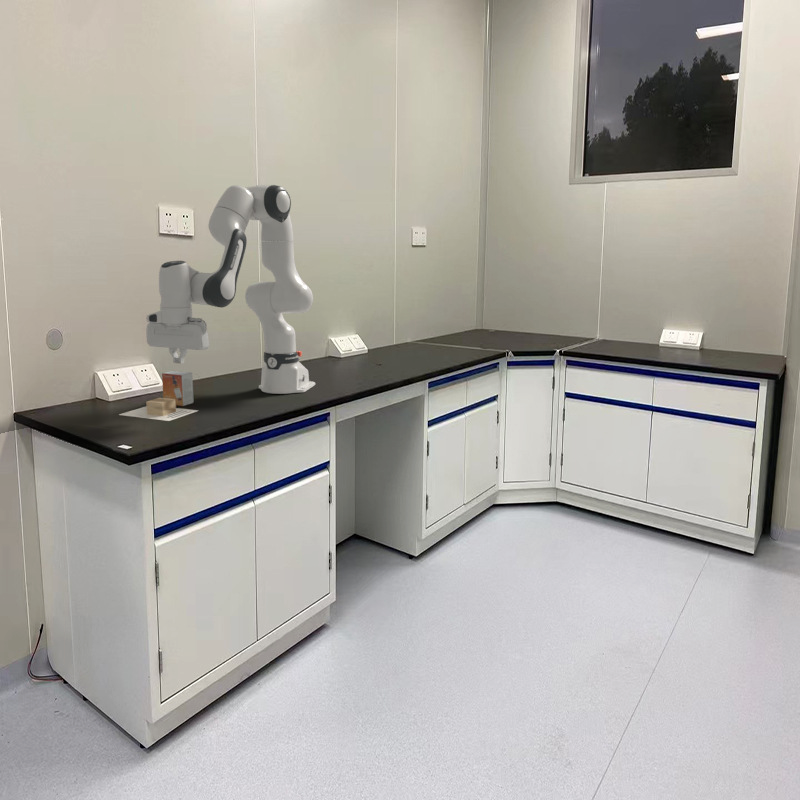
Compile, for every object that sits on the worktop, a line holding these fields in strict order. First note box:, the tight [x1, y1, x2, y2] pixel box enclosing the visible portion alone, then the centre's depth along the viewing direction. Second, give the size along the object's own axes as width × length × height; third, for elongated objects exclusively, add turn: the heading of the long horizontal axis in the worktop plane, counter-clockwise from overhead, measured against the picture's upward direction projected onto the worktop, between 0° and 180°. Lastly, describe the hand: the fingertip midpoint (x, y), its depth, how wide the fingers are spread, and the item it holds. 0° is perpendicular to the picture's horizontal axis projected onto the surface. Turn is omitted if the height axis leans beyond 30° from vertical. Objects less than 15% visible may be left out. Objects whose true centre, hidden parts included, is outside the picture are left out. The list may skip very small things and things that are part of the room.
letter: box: [118, 405, 199, 422], centre depth 204 cm, size 14×19×1 cm
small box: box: [161, 370, 195, 407], centre depth 215 cm, size 8×6×10 cm
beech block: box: [145, 397, 177, 416], centre depth 203 cm, size 6×6×4 cm
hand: (178, 363), depth 197 cm, fingers closed
